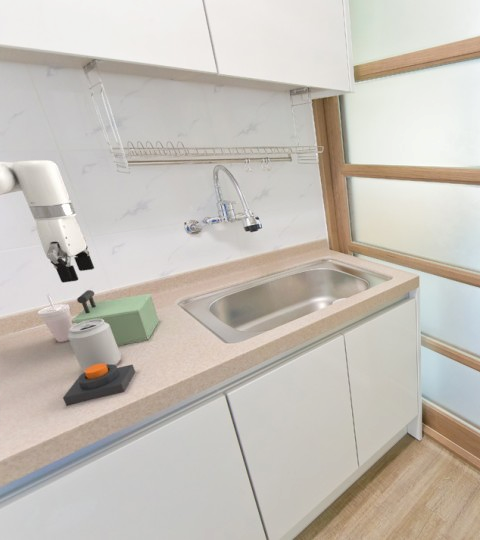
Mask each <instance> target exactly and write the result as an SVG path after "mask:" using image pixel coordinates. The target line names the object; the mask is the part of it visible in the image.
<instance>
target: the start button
mask: <svg viewBox="0 0 480 540" xmlns="http://www.w3.org/2000/svg"><path fill="white" fill-rule="evenodd" d="M84 373H85V374H86V377H87V379H94V378H98V377H100V376H103V375H105V374H106V373H108V368H107V366H106V364H105V363H100V364H96V365H93V366H91V367H89V368H87V369H86V370H85V372H84Z"/></svg>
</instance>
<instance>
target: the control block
mask: <svg viewBox="0 0 480 540" xmlns="http://www.w3.org/2000/svg"><path fill="white" fill-rule="evenodd" d="M106 366H107V368H108V373H106V374H105V375H103V376H100V377H98V378H94V379H87V377H86V374H85V372H83V373H81V374H80V375H79V376H78V378H76V380H75V381H74V383H73V384H72V385H71V386H70V388H69V389H68V391H67V392H65V394H64V395H63V397H62V399H63V401H64V403H65V406H67V407H68V406H71V405H76V404H80V403H84V402H88V401H92V400H96V399H97V400H98V399H100V398H104V397H108V396H113V395H118V394H122V393H125V391H126V390H127V388H128V386H129V384H130V382H131V381H132V379H133V377H134V375H135V373H136V370H135V367H134V364H128V365H124V366H119V367H118V366H117V365H112V364H107V365H106Z"/></svg>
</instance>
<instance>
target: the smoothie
mask: <svg viewBox="0 0 480 540" xmlns="http://www.w3.org/2000/svg"><path fill="white" fill-rule="evenodd" d="M46 297H47V299H48V302H49V304H50V306H47V307H44V308H41V309H40V310H38V311H37V315H38V317H40V318H41V319H42V321H43V322H44V324H45V325H46V327H47V329H48V330H49V331H50V332H51V335H53V337H54V338H55V340H56V341H57V342H58V343H62V342H66V341H69V338H68V334H69V333H70V331H69V329H70V328H71V327H72V326H73V324H72V322H71V321H72V316H71V312H70V309H71V307H70V305H69V304H68V303H61V304H55V305H54V301H53V300H52V297H51V294H46Z"/></svg>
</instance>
